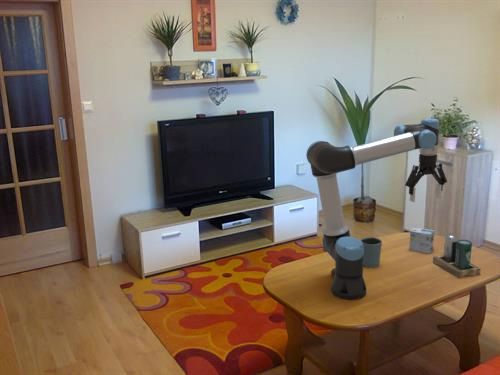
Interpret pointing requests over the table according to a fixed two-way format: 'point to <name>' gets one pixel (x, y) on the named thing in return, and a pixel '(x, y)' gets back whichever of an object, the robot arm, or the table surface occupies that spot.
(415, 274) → the table surface
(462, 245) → the can
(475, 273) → the rectangular frame
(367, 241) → the grey cup
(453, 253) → the grey post
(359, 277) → the robot arm
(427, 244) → the light bulb box
